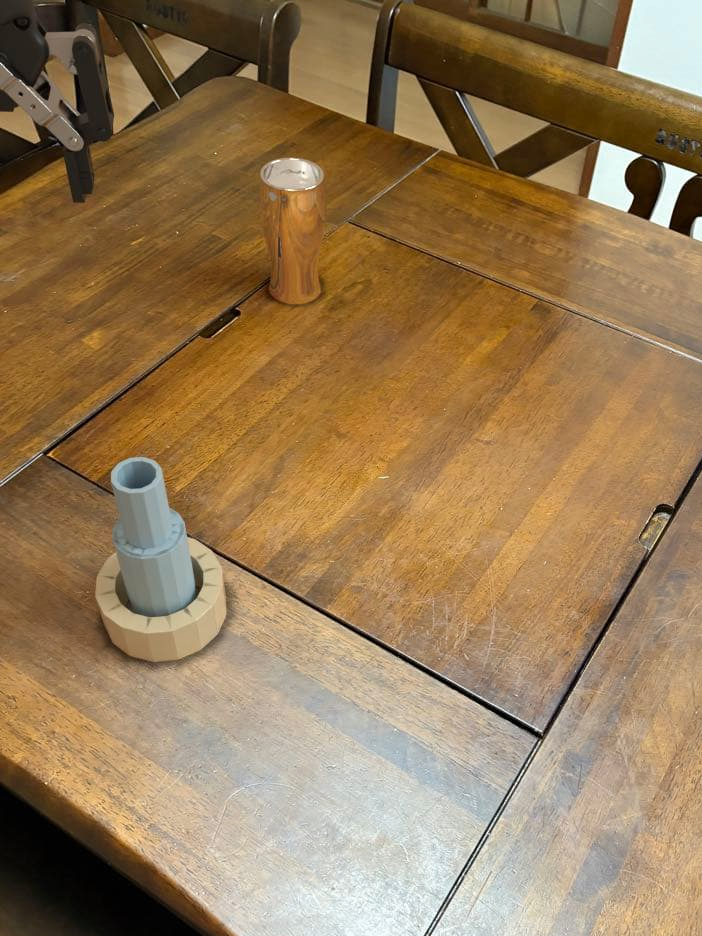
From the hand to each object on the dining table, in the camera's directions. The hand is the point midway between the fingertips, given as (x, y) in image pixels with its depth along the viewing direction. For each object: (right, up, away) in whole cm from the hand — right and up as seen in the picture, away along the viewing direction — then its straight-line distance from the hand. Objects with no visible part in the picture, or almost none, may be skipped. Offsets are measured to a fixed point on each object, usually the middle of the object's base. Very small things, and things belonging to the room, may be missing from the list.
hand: (12, 196), depth 60 cm
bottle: (+6, -29, +16) cm, 34 cm away
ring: (+6, -29, +16) cm, 34 cm away
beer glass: (+13, +6, +46) cm, 48 cm away
